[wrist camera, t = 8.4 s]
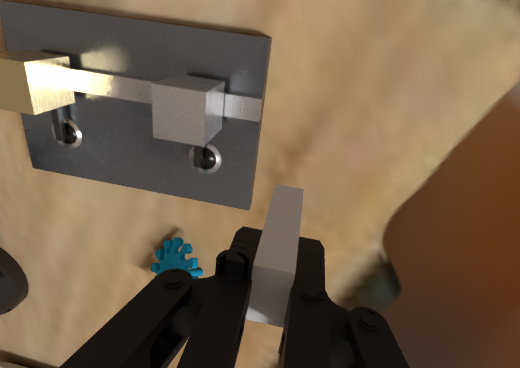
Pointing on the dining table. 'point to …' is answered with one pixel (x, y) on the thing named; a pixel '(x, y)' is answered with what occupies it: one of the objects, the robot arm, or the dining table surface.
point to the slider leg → (187, 111)
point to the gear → (176, 258)
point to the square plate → (10, 365)
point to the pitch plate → (130, 99)
